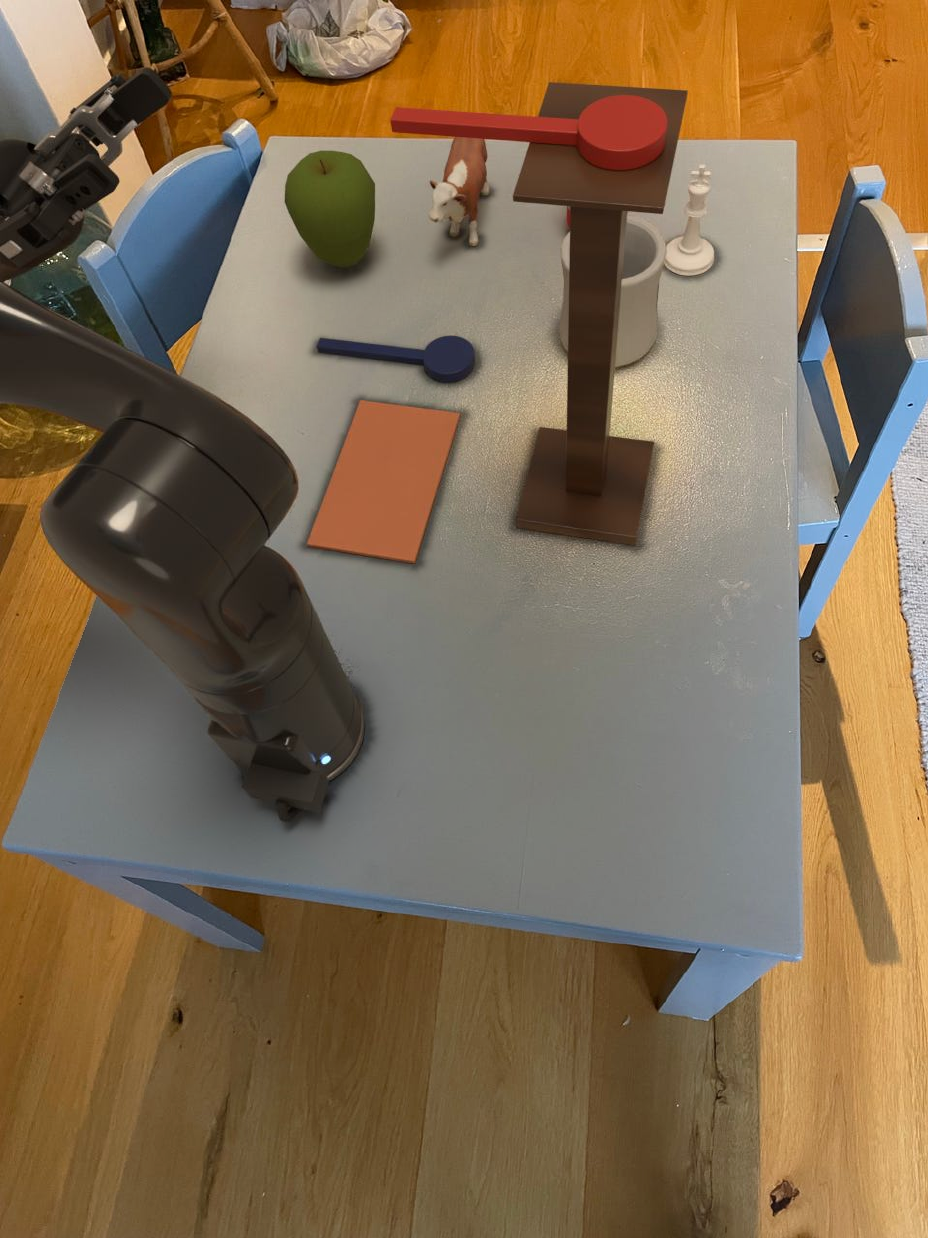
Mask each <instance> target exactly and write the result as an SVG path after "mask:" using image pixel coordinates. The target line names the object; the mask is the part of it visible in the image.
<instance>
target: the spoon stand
mask: <svg viewBox="0 0 928 1238" xmlns="http://www.w3.org/2000/svg"><path fill="white" fill-rule="evenodd" d="M688 93H689V91H688V90H685V89H672V88H671V89H670V88H655V87H654V88H653V87H636V86H620V85H603V84H589V83H588V84H586V83H571V82H570V83H569V82H555V81H554V82H553V81H549V82H548V84H547V87H546V90H545V93H544V97H543V99H542V102H541V105H540V109H539V112H538V115H537V117H548V118H563V119H579V117H580V115H581V113H582V112H583V111H584V110H585V109H586V108H587V107H588V106H589V105H591V104H592V103H594V102H596V101H598V100H600V99H603V98H606V97H611V96H617V95H632V96H639V97H643V98H646V99H649V100H651V101H653V102H655V103H656V104H658V105H659V106H660V107H661V108H662V109H663V110H664V112H665V114H666V116H667V120H668V125H667V134H666V143H665V147H664V149H663V151H662V153H661V154H660V155H659V156H658V157H657V158H656V159H655V160H653V161H652V162H650V163H649V164H647V165H644V166H642V167H639V168H635V169H630V170H608V169H603V168H600V167H597V166H595V165H593V164H591V163H589V162H588V161H587V160H585V159H584V158H583V157H582V155H581V154H580V152H579V150H578V147H577V146H574V145H560V144H546V143H533V142H528V143H529V144H528V147H527V150H526V152H525V156H524V158H523V159H524V160H523V162H522V166H521V169H520V172H519V175H518V178H517V180H516V181H517V182H516V184H515V188H514V190H513V194H512V202H515V203H526V204H527V203H528V204H537V205H548V206H550V205H551V206H561V207H567V206H570V228H569V232H570V257H569V316H568V351H567V374H566V375H567V381H566V387H567V388H566V429H559V428H552V427H544V426H539V428H538V431H537V434H536V435H537V436H536V440H535V443H534V447H533V451H532V455H531V458H530V462H529V467H528V470H527V475H526V478H525V482H524V487H523V491H522V495H521V498H520V502H519V506H518V509H517V514H516V518H515V525H516V528H517V529H524V530H531V531H538V532H545V533H550V534H551V533H552V534H556V535H557V534H558V535H563V536H564V535H565V536H570V537H576V538H577V537H578V538H585V539H591V540H597V541H603V542H609V543H610V542H611V543H616V544H623V545H629V546H636V545H637V541H638V536H639V530H640V525H641V520H642V513H643V508H644V503H645V499H646V492H647V487H648V483H649V481H648V480H649V476H650V471H651V465H652V460H653V454H654V448H655V441H651V440H644V439H643V440H642V439H637V438H630V437H629V438H628V437H620V436H614V435H611V424H612V423H611V422H612V409H613V397H614V396H613V395H614V385H615V370H616V367H615V360H616V347H617V335H618V322H619V310H620V297H621V285H622V272H623V260H624V247H625V234H626V222H627V215H628V212H630V213H631V212H632V213H643V214H655V215H663V214H664V211H665V206H666V201H667V196H668V191H669V188H670V187H669V185H670V181H671V177H672V171H673V167H674V162H675V158H676V154H677V153H676V152H677V148H678V143H679V137H680V132H681V127H682V123H683V118H684V114H685V108H686V104H687V99H688Z"/></svg>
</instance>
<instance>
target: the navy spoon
mask: <svg viewBox="0 0 928 1238" xmlns="http://www.w3.org/2000/svg"><path fill="white" fill-rule="evenodd" d="M316 350H317V353H323V354H329V355H330V354H331V355H338V356H348V357H356V358H363V359H370V360H371V359H372V360H380V361H381V360H382V361H388V362H397V363H404V364H405V363H406V364H412V365H420V366H421V365H423V367H424V370H425V372H426V374H427V375H428V376H429V377H430V378H431V379H433V380H434V381H437V382H439V383H447V384H449V383H455V382H459V381H461V380H463V379H464V380H465V378H467V377H468V376H469V375H470V374H471V373H472V372H473V370H474V369H475V366H476V355H475V349H474V347H473V344H472V343H471V342H470V341H469V340H467V339H466V338H464V337H462V336H458V335H443V336H440V337H437V338H435V339H433V340H431V341H430V342H429V343H428V344H427V345H426V347H425V348H424V349H420V348H411V347H403V346H393V345H385V344H379V343H378V344H377V343H369V342H362V341H361V342H360V341H352V340H343V339H334V338H325V337H319V339H318V342H317V344H316Z"/></svg>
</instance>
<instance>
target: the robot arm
mask: <svg viewBox="0 0 928 1238" xmlns="http://www.w3.org/2000/svg"><path fill="white" fill-rule="evenodd" d="M171 98H173V92H172V90H171V87H169V86H168V85H167V83H165V81H164V80H163V79H162V78H161V76H159V74H158V73H157V72H156V71H155V70H154V69H152V68H151V67H148V66H145V67H143V68H142V69H141V70H139V71H138V72H136V73H135V74H134V75H133V76H131V77H130V78H128V79H127V80H126V78H125V77H124V76H123V74H122V73H121V72H119V73H117V74H116V75H115V74H113V76H112V77H110V79H109V81H107V82H106V83H104V84H103V85H102V86H101V87H100V88H98V89H97V90H96V91H95V92H94V93H92V94H91V95H90V96H88V97H87V98H86V99H85V100H84V101H82V102H81V103H80V104H78V106H76V107H73V108H71V110H70V111H69V115H68V117H67V119H66V120H65V121H64V122H63V123H62V124H61V125H60V126H59V127H58V128H57V129H56V130H53V131H49V132H47V134H45V135H44V137H43V138H41V140H40V141H38V142H37V144H35V143H32V142H30V141H27V140H22V139H17V138H16V139H15V138H6V139H5V138H4V139H1V140H0V404H5V405H13V406H19V407H24V408H29V409H34V410H39V411H43V412H46V413H49V414H53V415H56V416H58V417H62V418H63V419H67V420H70V421H73V422H75V423H77V424H80V425H82V426H84V427H86V428H89V429H92V430H94V431H96V432H98V433H101V435H100V437H99V438H98V439H97V440H96V441H95V442H94V444H93V445H91V447H90V448H89V449H88V451H87V452H85V454H84V455H83V456H82V457H81V458H80V459H79V461H78V462H77V463H76V464H75V465H74V466H73V467H72V468H71V470H70V471H69V472H68V473H67V474H66V475H65V476H64V478H63V479H62V480H61V481H60V482H59V483H58V484H57V485H56V487H55V488H54V489H53V490H52V492H50V494H49V495H48V496H47V497H46V499H45V500H44V502H43V504H42V506H41V508H40V513H39V514H40V515H39V518H40V526H41V529H42V532H43V535H44V537H45V539H46V541H47V542H48V545H49V546H50V548H51V549H52V550H53V552H54V553H55V554H56V555H57V557H58V558H59V559H60V560H61V561H62V563H63V564H64V565H65V566H66V567H67V569H69V570H70V571H71V573H73V574H74V575H75V577H77V579H79V580H80V581H81V582H82V583H83V584H84V585H85V586H86V587H87V588H88V589H89V590H90V591H91V592H92V593H93V594H94V595H95V596H97V598H99V599H100V600H101V601H102V602H103V603H104V604H105V605H106V606H107V607H108V608H109V609H110V610H111V611H112V612H113V613H114V614H115V615H116V616H117V617H118V618H119V619H120V620H121V621H122V622H123V624H125V625H126V627H127V628H128V629H129V630H130V631H131V632H132V633H133V635H135V637H136V638H137V639H139V641H140V642H141V643H143V645H145V646H146V647H147V649H149V650H150V651H151V653H153V654H154V655H155V657H157V658H159V660H160V661H161V662H162V663H163V664H164V665H165V666H166V667H167V669H169V671H170V672H171V673H172V674H173V675H174V676H175V677H176V678H177V679H178V680H179V682H180V683H181V684H182V686H183V687H184V688H185V689H186V690H187V691H188V693H190V695H191V696H192V697H193V699H194V700H195V702H197V703H198V704H199V705H200V707H201V708H202V709H203V710H204V711H205V713H206V714H207V715H208V717H210V722H209V725H208V726H207V729H206V734H207V735H208V736H209V738H211V740H212V741H213V742H214V743H215V745H217V746H218V748H219V749H220V750H221V752H223V753H224V754H225V755H226V756H227V758H229V760H230V761H231V762H232V763H233V764H234V765H235V766H236V767H237V769H238V770H239V771H240V772H241V773H242V774H243V775H244V776H245V778H244V780H243V783H242V786H241V789H242V790H243V791H244V792H245V793H246V794H247V795H248V796H249V797H250V799H253V800H258V801H262V802H263V801H264V802H267V803H272V804H275V805H276V812H277V816H278V819H279V820H280V821H281V822H284V823H289V822H290V823H291V822H292V821H294V820H295V819H296V818H297V817H298V815H299V814H300V813H301V812H302V811H303V810H304V811H308V812H313V813H318V814H319V813H321V809H322V806H323V804H324V800H325V797H326V795H327V790H328V788H329V784H330V781H333V779H335V778H337V777H338V776H339V775H341V774H342V773H343V772H344V771H345V770H346V769H347V768H348V767H349V766H350V765H351V764H352V762H353V761H354V760H355V758H356V757H357V755H358V753H359V751H360V749H361V747H362V744H363V742H364V737H365V730H366V720H365V713H364V709H363V707H362V703H361V702H360V699H359V697H358V695H357V694H356V692H355V691H354V689H353V688H352V686H351V683H350V680H349V679H348V677H347V675H346V673H345V671H344V668H343V667H342V665H341V662H340V660H339V658H338V657H337V654H336V652H335V649H334V647H333V646H332V643H331V642H330V639H329V636H328V635H327V632H326V631H325V628H324V627H323V624H322V622H321V620H320V617H319V615H318V613H317V611H316V609H315V607H314V605H313V602H312V601H311V598H310V596H309V594H308V592H307V590H306V587H305V586H304V582H303V581H302V578H301V577H300V576H299V573H298V572H297V571H296V569H295V567H294V566H293V565H292V564H291V563H290V562H289V561H288V559H287V558H285V557H284V556H283V555H282V554H280V552H278V551H276V550H274V549H272V548H271V547H269V546H266V543H267V542H268V541H269V539H270V538H271V537H272V535H273V534H274V533H275V531H276V530H277V529H278V527H279V526H280V525H281V523H282V522H283V520H284V519H285V518H286V516H287V514H288V513H289V512H290V510H291V508H292V506H293V505H294V503H295V501H296V500H297V497H298V494H299V488H300V487H299V486H300V485H299V477H298V473H297V470H296V469H295V466H294V464H293V462H292V461H291V459H290V457H289V456H288V454H287V453H286V452H285V450H283V448H282V447H281V446H280V445H279V444H278V442H277V441H276V440H275V439H274V438H273V436H271V435H270V434H269V433H268V432H267V431H265V430H264V429H263V428H262V427H261V426H259V425H258V424H257V423H256V422H254V421H253V420H252V419H251V418H250V417H248V416H247V415H246V414H244V413H243V412H241V411H240V410H238V409H237V408H235V407H234V406H232V405H231V404H229V403H227V402H226V401H225V400H223V399H222V398H221V397H219V396H218V395H215V394H214V393H212V392H210V391H209V390H207V389H205V388H204V387H202V386H201V385H198V384H196V383H195V382H192V381H190V380H189V379H188V378H185V377H184V376H181V375H180V374H177V373H176V372H174V371H172V370H170V369H168V368H166V367H164V366H162V365H161V364H159V363H156V362H155V361H153V360H151V359H149V358H147V357H144V356H143V355H140V354H139V353H137V352H135V351H133V350H131V349H129V348H127V347H125V346H123V345H121V344H119V343H118V342H115V341H113V340H112V339H110V338H107V337H105V336H104V335H101V334H100V333H97V332H96V331H94V330H91V329H89V328H88V327H85V326H84V325H81V324H79V323H78V322H76V321H74V320H72V319H70V318H68V317H66V316H64V315H62V314H60V313H58V312H56V311H54V310H52V309H51V308H49V307H47V306H46V305H44V304H42V303H40V302H38V301H37V300H35V299H34V298H31V297H30V296H28V295H26V294H24V293H22V292H21V291H19V290H17V289H16V288H14V287H12V286H10V285H9V284H8V283H6V281H10V280H14V279H16V278H19V277H21V276H22V275H24V274H27V273H28V272H30V271H31V270H33V269H35V268H36V267H38V266H40V265H42V264H43V263H45V262H46V261H48V260H49V259H51V258H52V257H55V256H56V255H58V254H59V253H61V252H62V251H64V250H66V249H68V248H69V247H70V246H72V245H73V244H74V243H75V242H76V241H77V240H78V239H79V237H80V235H81V233H82V230H83V227H84V222H85V221H84V219H85V213H86V210H88V209H89V208H91V207H92V206H94V205H95V204H97V203H99V202H100V201H102V200H103V199H105V198H106V197H108V196H110V195H111V194H112V193H114V192H115V191H116V189H117V187H118V186H119V184H120V181H121V180H120V177H119V176H118V175H117V174H116V172H114V170H112V169H111V168H110V166H111V165H112V164H113V162H114V161H116V160H117V159H118V158H119V157H120V156H121V155H122V153H123V143H122V142H123V140H125V139H126V138H127V137H128V136H129V135H130V134H131V132H133V131H134V129H136V128H139V127H140V126H141V124H142V123H143V122H144V121H145V120H148V118H150V117H151V116H153V115H154V114H156V113H157V112H158V111H161V110H162V109H163V108H164V107H166V106H167V105H168V104H169V103H170V100H171ZM103 144H104V145H105V146H106V148H107V150H106V151H105V152H104V153H103V155H101V156H100V152H99V151H98V150H97V147H99V146H100V145H103ZM288 807H290V808H289V809H288Z"/></svg>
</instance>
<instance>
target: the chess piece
mask: <svg viewBox="0 0 928 1238" xmlns="http://www.w3.org/2000/svg"><path fill="white" fill-rule="evenodd" d="M705 169H706V164H700V165H699V170H691V175H690V179H693V180H691V181H690V182H689V183H688V185H687V191H688V194H689V201H688V202H686V204H685V205H684V207H683V211H684V214H685V215H686V216H688V219H687V223H686V226H685V230H684V233H683V235H681V236H678V237H676V238H674V239H672V240H671V241H669V243H666V250H667V253H666V257H665V261H664V266H665V267H666V268H667V270H669V271H670V272H671V273H672V272H673V273H674V274H677V275H680V276H686V277H687V276H689V277H690V276H697V275H700V274H703V273H705V272H707V271H708V270H709V269H711V267H712V266H713V264H714V262H715V249H714V247H713V246H712V244H711V243H710V242H709V241H708V240H706V239H704V238H703V237H700V235H701V234H700V233H701V231H700V230H701V228H700V227H701V218H702V217H705V216H706V215H707V213H708V205H707V204H706V203H705V200H706V198H707V196H708V195H709V193H710V191H711V183H710V182H709V181H707V180H711V176H712V171H707V170H706V171H705Z"/></svg>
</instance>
